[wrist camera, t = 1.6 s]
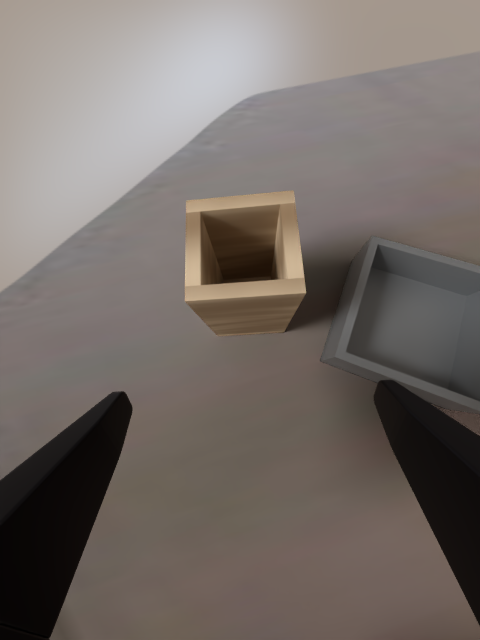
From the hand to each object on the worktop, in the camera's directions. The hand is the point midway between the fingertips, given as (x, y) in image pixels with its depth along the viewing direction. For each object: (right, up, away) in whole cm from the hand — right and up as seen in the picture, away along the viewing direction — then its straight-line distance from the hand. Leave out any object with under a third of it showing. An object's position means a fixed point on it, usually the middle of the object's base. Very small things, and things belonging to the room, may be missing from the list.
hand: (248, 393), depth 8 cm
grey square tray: (+13, +2, +12) cm, 18 cm away
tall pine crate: (+1, +4, +13) cm, 14 cm away
